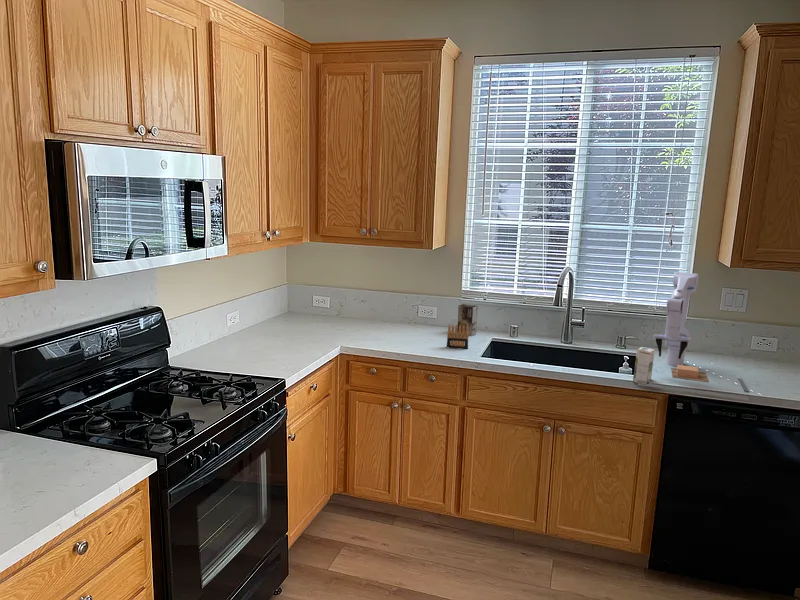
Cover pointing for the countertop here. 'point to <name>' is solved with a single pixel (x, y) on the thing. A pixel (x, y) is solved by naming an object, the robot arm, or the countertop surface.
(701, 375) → the walnut deck
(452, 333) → the ammunition clip
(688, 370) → the terracotta tile
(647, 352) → the syrup box
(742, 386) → the slate mat
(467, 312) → the coffee box
